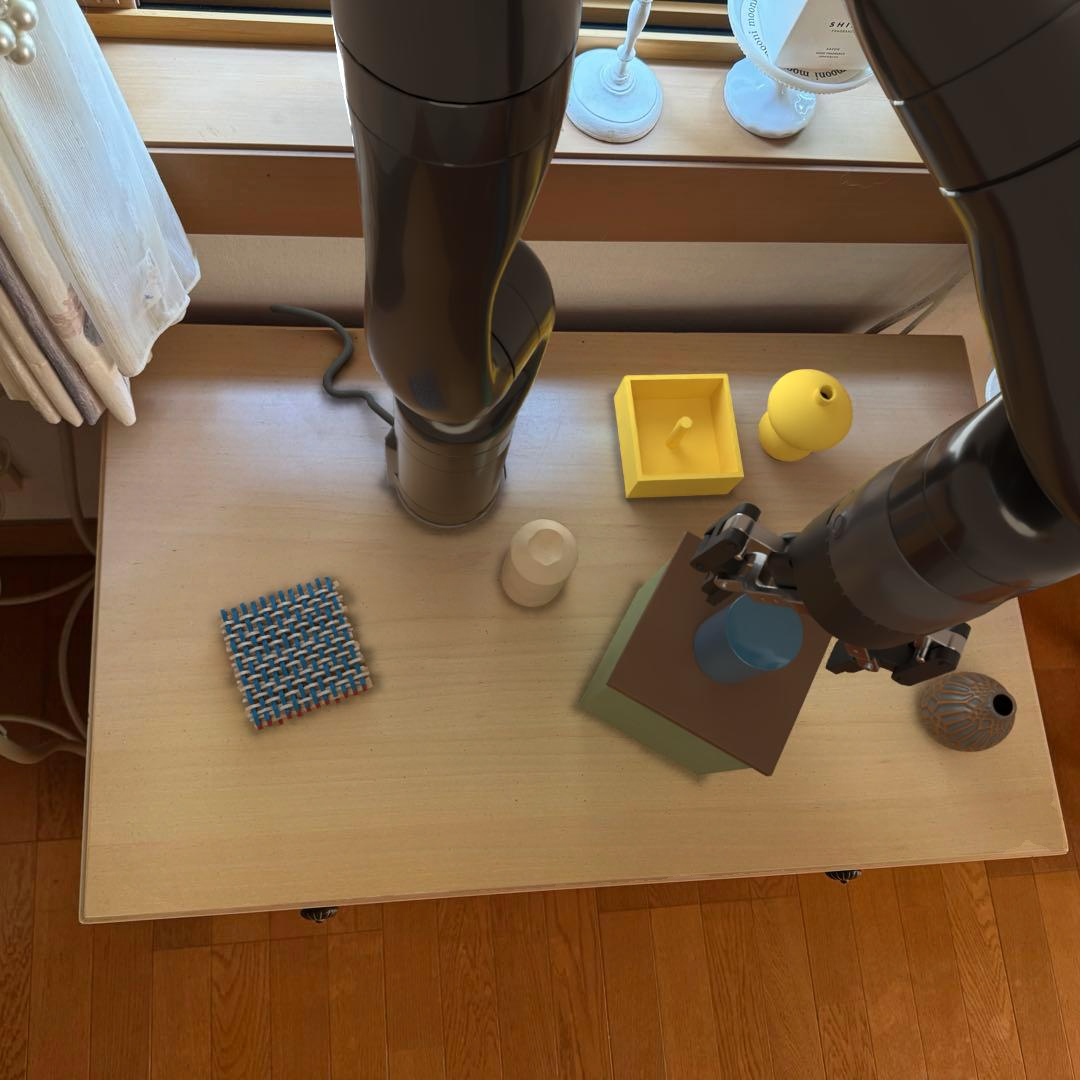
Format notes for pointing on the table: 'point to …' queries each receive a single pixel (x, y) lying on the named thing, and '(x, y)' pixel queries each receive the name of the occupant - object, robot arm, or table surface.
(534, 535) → the candle
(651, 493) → the bath set
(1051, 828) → the table surface
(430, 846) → the table surface
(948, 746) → the vase
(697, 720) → the stand
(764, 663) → the blue cylinder
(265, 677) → the woven mat
